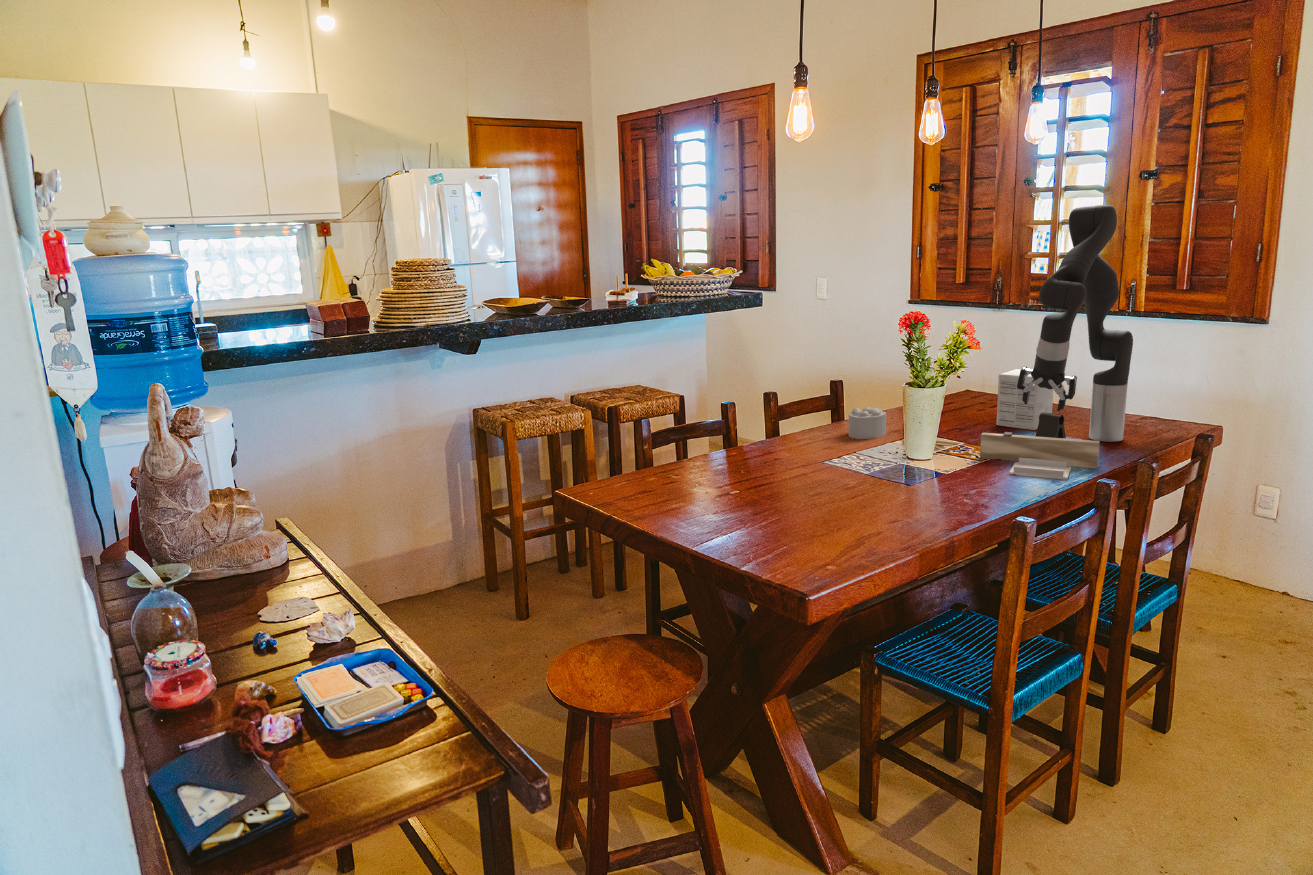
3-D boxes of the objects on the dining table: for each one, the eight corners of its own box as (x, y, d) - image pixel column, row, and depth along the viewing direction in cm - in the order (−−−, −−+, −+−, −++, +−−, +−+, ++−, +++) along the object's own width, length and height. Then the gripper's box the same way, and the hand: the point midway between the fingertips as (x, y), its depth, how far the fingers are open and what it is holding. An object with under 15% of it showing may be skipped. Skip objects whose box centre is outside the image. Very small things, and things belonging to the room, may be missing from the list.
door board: (981, 455, 240) (982, 430, 238) (1097, 465, 225) (1099, 438, 223) (979, 458, 238) (981, 432, 236) (1097, 468, 223) (1099, 441, 221)
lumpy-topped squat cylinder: (890, 433, 273) (890, 407, 271) (867, 441, 264) (868, 414, 262) (863, 429, 280) (863, 404, 278) (840, 436, 272) (840, 410, 270)
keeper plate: (1015, 464, 230) (1015, 456, 230) (1071, 469, 223) (1071, 461, 222) (1009, 474, 221) (1009, 466, 221) (1067, 479, 214) (1067, 471, 213)
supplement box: (1013, 418, 285) (1015, 368, 281) (1052, 423, 276) (1055, 371, 272) (995, 425, 277) (997, 373, 273) (1034, 430, 267) (1037, 377, 263)
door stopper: (1049, 449, 243) (1051, 410, 241) (1068, 453, 238) (1071, 413, 236) (1030, 455, 239) (1032, 414, 236) (1049, 459, 234) (1052, 417, 231)
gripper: (1084, 352, 215) (1074, 406, 224) (1027, 342, 223) (1019, 394, 232) (1077, 364, 210) (1066, 418, 219) (1019, 353, 218) (1011, 406, 227)
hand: (1042, 406), depth 225 cm, fingers open, 8 cm apart
